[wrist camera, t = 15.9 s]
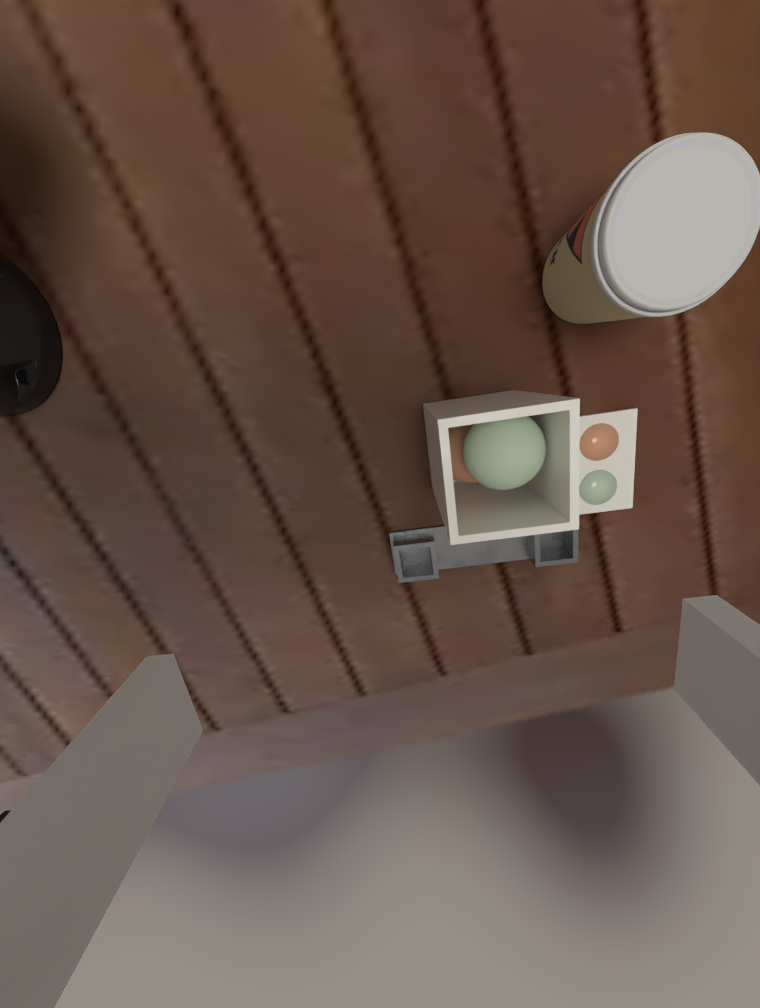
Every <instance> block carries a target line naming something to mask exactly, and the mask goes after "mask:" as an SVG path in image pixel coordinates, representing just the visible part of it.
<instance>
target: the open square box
mask: <svg viewBox="0 0 760 1008" xmlns="http://www.w3.org/2000/svg"><path fill="white" fill-rule="evenodd" d="M423 411H424V420H425V429H426V437H427V446H428V455H429V463H430V472H431V481H432V489H433V492H434V495H435V498H436V501H437V505H438V508H439V511H440V514H441V517H442V520H443V523H444V526H445V529H446V532H447V535H448V538H449V541H450V544H451V545H456V544H464V543H472V542H480V541H488V540H496V539H505V538H513V537H521V536H529V535H537V534H545V533H553V532H561V531H570V530H578V529H579V445H580V398H572V397H564V396H556V395H549V394H541V393H533V392H526V391H518V390H510V391H504V392H497V393H491V394H484V395H478V396H471V397H465V398H458V399H452V400H445V401H438V402H432V403H425V404H423ZM525 416H528V417H530V418H531V419H532V420H534V421H535V422H536V423H537V424H538V426H539V427H540V429H541V430H542V432H543V435H544V438H545V442H546V455H545V459H544V462H543V465H542V467H541V468H540V470H539V472H538V473H537V474H536V475H535V477H533V478H532V479H531V480H530V481H529V482H527V483H526V484H524V485H522V486H520V487H517V488H514V489H509V490H496V489H492V488H488V487H486V486H484V485H482V484H481V483H479V482H478V483H462V482H459V481H456V480H454V479H453V474H452V463H451V453H450V443H449V433H448V428H451V427H458V426H465V425H471V424H478V423H485V422H492V421H498V420H505V419H512V418H519V417H525Z"/></svg>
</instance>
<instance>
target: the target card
mask: <svg viewBox="0 0 760 1008" xmlns="http://www.w3.org/2000/svg"><path fill="white" fill-rule="evenodd" d="M637 409H638V408H629V409H622V410H616V411H609V412H602V413H595V414H588V415H581V416H580V445H579V515H580V514H588V513H596V512H604V511H612V510H620V509H628V508H632V507H633V488H634V468H635V448H636V429H637Z"/></svg>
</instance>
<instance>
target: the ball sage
mask: <svg viewBox="0 0 760 1008" xmlns="http://www.w3.org/2000/svg"><path fill="white" fill-rule="evenodd" d="M545 455H546V442H545V438H544V435H543V432H542V430H541V429H540V427H539V426H538V424H537V423H536V422H535V421H534V420H532V419H531V418H530V417H528V416H525V417H519V418H512V419H505V420H498V421H492V422H485V423H478V424H474V425H473V426H472V427H471V429H470V430H469V432H468V434H467V436H466V438H465V441H464V445H463V458H464V462H465V465H466V468H467V470H468V471H469V473H470V474H471V476H472V477H473V478H474V479H475V480H476V481H478V482H479V483H481V484H482V485H484V486H486V487H488V488H492V489H496V490H509V489H514V488H517V487H520V486H522V485H524V484H526V483H527V482H529V481H530V480H531V479H532V478H533V477H535V475H536V474H537V473H538V472H539V470H540V468H541V467H542V465H543V462H544V459H545Z"/></svg>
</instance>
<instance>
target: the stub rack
mask: <svg viewBox="0 0 760 1008" xmlns="http://www.w3.org/2000/svg"><path fill="white" fill-rule="evenodd" d="M389 536H390V542H391V549H392V555H393V561H394V568H395V574H396V575H397V574H398V580H399V583H403V582H411V581H420V580H429V579H437V578H439V573H438V570H439V569H448V568H456V567H465V566H473V565H482V564H490V563H499V562H507V561H515V560H524V559H530V560H531V561H532V563H533V564H534V566H535V567H540V566H549V565H558V564H566V563H575V562H578V530H570V531H561V532H553V533H545V534H537V535H529V536H521V537H513V538H505V539H496V540H488V541H480V542H472V543H464V544H456V545H451V544H450V541H449V538H448V535H447V532H446V529H445V526H444V525H441V526H433V527H425V528H417V529H409V530H401V531H393V532H389Z"/></svg>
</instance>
